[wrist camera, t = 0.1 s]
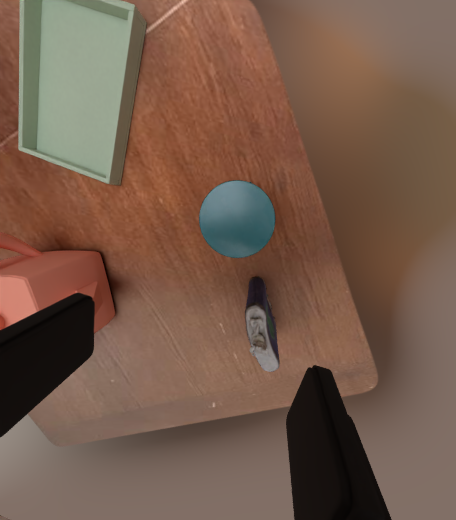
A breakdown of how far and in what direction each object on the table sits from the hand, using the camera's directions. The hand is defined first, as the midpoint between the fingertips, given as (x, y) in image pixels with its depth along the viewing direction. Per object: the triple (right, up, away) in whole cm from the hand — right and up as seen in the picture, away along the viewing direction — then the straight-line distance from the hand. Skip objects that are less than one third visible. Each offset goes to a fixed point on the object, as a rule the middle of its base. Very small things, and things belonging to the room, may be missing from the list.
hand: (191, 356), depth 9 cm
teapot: (-23, 0, +29) cm, 37 cm away
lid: (+2, +8, +10) cm, 13 cm away
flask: (+7, -3, +24) cm, 25 cm away
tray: (-18, +26, +20) cm, 37 cm away
